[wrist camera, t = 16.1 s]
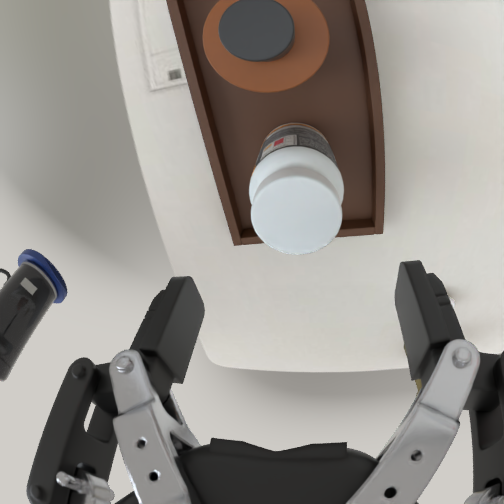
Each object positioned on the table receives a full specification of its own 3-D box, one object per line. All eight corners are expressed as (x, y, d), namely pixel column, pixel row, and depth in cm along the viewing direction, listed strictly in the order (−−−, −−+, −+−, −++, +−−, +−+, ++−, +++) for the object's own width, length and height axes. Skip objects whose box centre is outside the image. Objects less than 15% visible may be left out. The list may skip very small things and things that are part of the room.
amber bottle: (247, 86, 19) (197, 115, 10) (232, 21, 16) (163, -13, 6) (321, 76, 18) (351, 92, 8) (308, 9, 14) (320, -46, 5)
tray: (237, 233, 28) (233, 246, 27) (161, -57, 11) (150, -63, 9) (378, 221, 25) (383, 234, 23) (327, -89, 8) (329, -99, 6)
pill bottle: (247, 143, 22) (216, 199, 14) (309, 108, 19) (319, 143, 12) (284, 197, 24) (275, 275, 17) (343, 168, 22) (368, 238, 14)
